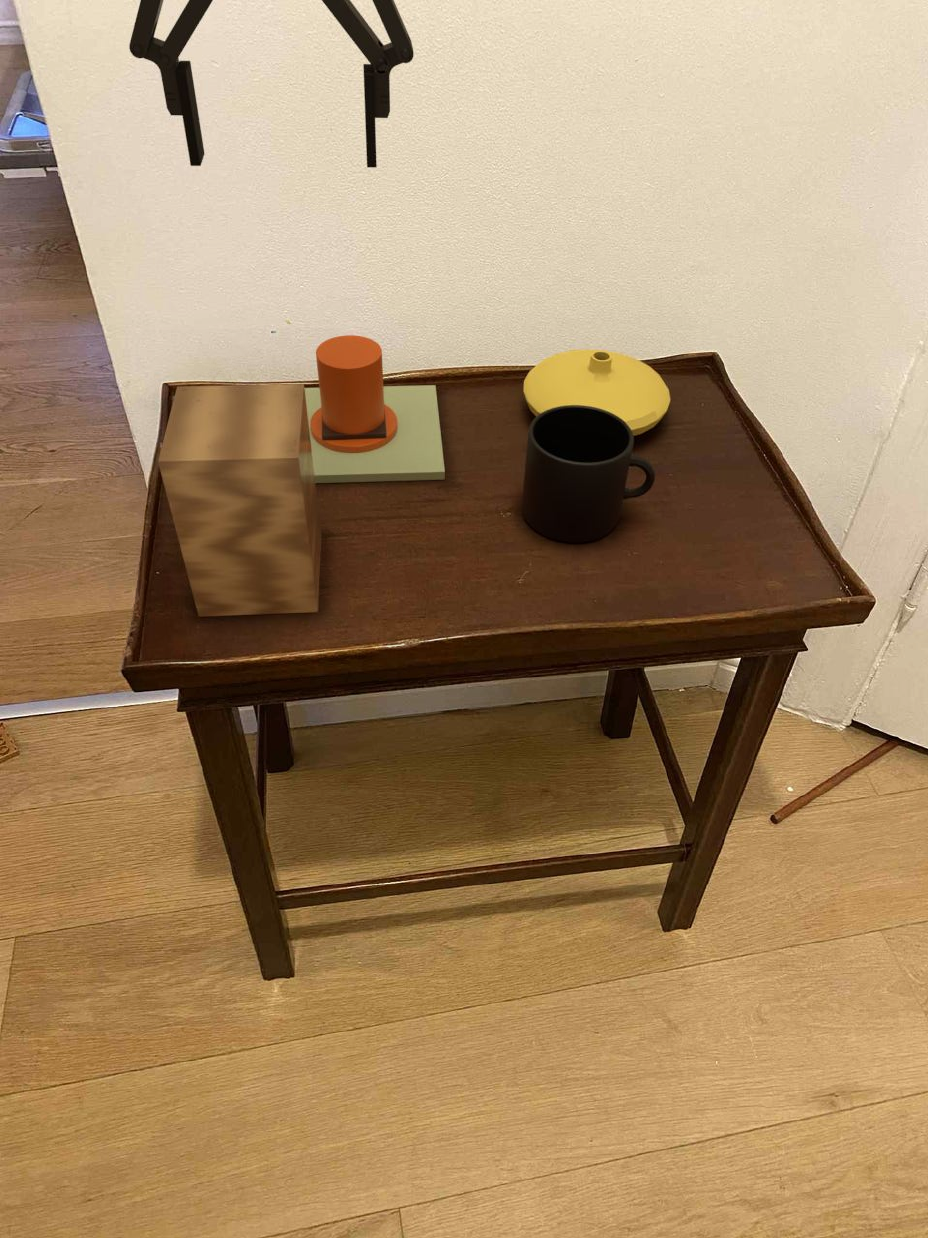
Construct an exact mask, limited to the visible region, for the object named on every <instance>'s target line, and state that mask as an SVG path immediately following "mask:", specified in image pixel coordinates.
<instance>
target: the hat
mask: <svg viewBox="0 0 928 1238" xmlns="http://www.w3.org/2000/svg"><path fill="white" fill-rule="evenodd" d="M315 358H316V367H317V368H316V369H317V377H318V388H319V389H320V399H321V408H319V409H318V410H317V411H316V412H315V413H314V414H313V416H312V418H311V422H310V426H311V433H312V436H313V438H314V439H315V440H316V441H317V442H318V443H319V444H320V445H322V446H324V447H326V448H328V449H331V450H334V451H338V452H344V453H361V452H367V451H371V450H375V449H378V448H380V447H382V446H384V445H386V444H387V443H388V442H390V441H391V440H392V439H393V438H394V436H395V434H396V432H397V426H398V425H397V417H396V415H395V413H394V411H393V410H392V409H391V408H389V407H388V406H387V405H385V404H384V389H383V386H384V367H383V351H382V347H381V345H380V344H379V343H378V342H377V341H375V340H374V339H372V338H369V337H366V336H363V335H362V336H361V335H354V334H351V335H349V334H347V335H338V336H334V337H331V338H329V339H328V338H327V339H326V340H324V341H323V342H321V343H320V344H319V345H318V346H317V348H316V350H315Z"/></svg>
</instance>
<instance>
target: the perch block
mask: <svg viewBox="0 0 928 1238" xmlns="http://www.w3.org/2000/svg"><path fill="white" fill-rule="evenodd" d="M305 388H306V387H305V383H290V384H287V383H286V384H285V383H283V384H241V385H238V384H237V385H194V386H193V385H191V386H190V385H189V386H188V385H187V386H176V390H175V393H174V398H173V402H172V406H171V409H170V413H169V417H168V421H167V425H166V429H165V431H164V437H163V441H162V444H161V448H160V452H159V456H158V460H157V463H158V468H159V472H160V474H161V479H162V483H163V486H164V489H165V493H166V494H165V495H166V498H167V501H168V505H169V509H170V512H171V517H172V521H173V524H174V527H175V532H176V536H177V540H178V544H179V548H180V551H181V555H182V560H183V562H184V565H185V570H186V573H187V578H188V581H189V586H190V589H191V592H192V596H193V600H194V604H195V609H196V612H197V616H198V617H199V618H200V617H201V618H202V617H228V616H229V617H230V616H251V615H252V616H254V615H255V616H256V615H279V614H280V615H281V614H304V613H305V614H306V613H318V612H319V601H320V600H319V599H320V598H319V597H320V576H321V556H322V555H321V552H322V531H321V520H320V513H319V504H318V495H317V486H316V485H317V484H316V483H315V476H314V467H313V458H312V450H311V441H310V432H309V423H308V414H307V406H306V397H305Z"/></svg>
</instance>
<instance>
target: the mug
mask: <svg viewBox="0 0 928 1238" xmlns="http://www.w3.org/2000/svg"><path fill="white" fill-rule="evenodd" d="M527 431H528V432H527V443H526V453H525V464H524V475H523V486H522V496H521V497H522V499H521V511H522V515H523V516H524V519H525V521H526V522H527V523H528V525H529V526H530V527H531V528H532V529H533V530H534V531H536V532H537V533H539V534H541V535H542V536H545V537H547V538H549V539H551V540H555V541H559V542H564V543H573V544H574V543H587V542H592V541H596V540H599V539H601V538H603V537H605V536H607V535H608V534H610V533H611V532H612V531H613V529H614V528H615V527H616V526H617V525H618V523H619V520H620V517H621V513H622V512H621V511H622V506H623V501H624V500H628V499H635V498H638V497H641V496H644V495H645V494H647V493H648V492H649V491H650V490H651V489H652V488H653V486H654V484H655V480H656V471H655V468H654V466H653V464H652V463H651V462H650V461H649V460H647V459H646V458H644V457H641V456H637V455H635V454H633V448H634V441H635V437H634V436H633V433H632V431H631V429H630V427H629V426H628V425H627V424H626V423H625V422H624V421H623V420H622V419H621V418H619V417H618V416H616V415H614V414H613V413H610V412H608V411H605V410H603V409H599V408H595V407H590V406H583V405H566V406H560V407H555V408H552V409H549V410H546V411H544V412H542V413H541V414H539V415H538V416H537V417H536V416H535V417H534V419H533V420H531V422H530V425H529V427H528V430H527ZM630 467H632V468H633V467H636V468H639V469H641V470H642V471H643V472H644V474H645V480H644V482H643V483H642V484H641V485H640V486H637V487H635V488H628V487H626V485H627V481H628V475H629V469H630Z"/></svg>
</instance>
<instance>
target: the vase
mask: <svg viewBox="0 0 928 1238" xmlns="http://www.w3.org/2000/svg"><path fill="white" fill-rule="evenodd" d="M522 391H523V395H524V398H525V401H526V404H527V406H528V409H529V411H530V412H531V413H532V414H533V415H534V416H535V418H536V417H537V416H538V415H539V414H541V413H542V412H544V411H546V410H549V409H552V408H555V407H560V406H566V405H583V406H590V407H595V408H599V409H603V410H605V411H608V412H610V413H613V414H614V415H616V416H618V417H619V418H621V419H622V420H623V421H624V422H625V423H626V424H627V425H628V426H629V427H630V429H631V431H632V433H633V437H634V436H638V435H642V434H644V433H645V432H648V431H649V430H651V429H653V428H655V426H657V424H658V423H659V422H660V421H661V420H662V419H663V417H664V416H665V414H666V413H667V412H668V408H669V406H670V403H671V395H670V389H669V388H668V386H667V384H666V383H665V382H664V380H663V378H662V377H661V375H660V374H659V373H658V372H657V371H655V370H654V369H653V368H652V366H650V365H648V364H646V363H645V362H643V361H641V360H639V359H637V358H635V357H632V356H629V355H625V354H623V353H621V352H620V353H619V352H614V351H609V350H603V349H587V348H586V349H585V348H584V349H574V350H568V351H563V352H559V353H555V354H552V355H551V356H548V357H546V358H543V360H541V361H540V362H539V363H537V364H536V365H535V366H534V367H533V368H532V369H531V370H529V372H528V373H527V375H526V377H525V378H524V380H523V390H522Z"/></svg>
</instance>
